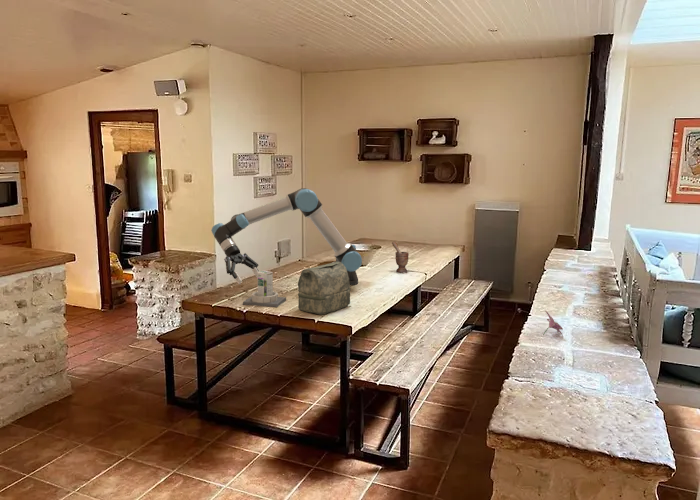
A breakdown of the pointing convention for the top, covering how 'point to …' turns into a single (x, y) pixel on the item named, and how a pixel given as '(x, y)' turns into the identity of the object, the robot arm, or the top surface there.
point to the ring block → (265, 300)
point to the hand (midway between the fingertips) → (250, 280)
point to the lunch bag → (324, 288)
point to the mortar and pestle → (401, 259)
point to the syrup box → (265, 283)
